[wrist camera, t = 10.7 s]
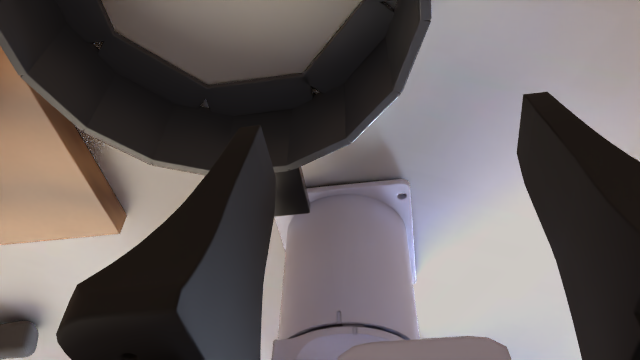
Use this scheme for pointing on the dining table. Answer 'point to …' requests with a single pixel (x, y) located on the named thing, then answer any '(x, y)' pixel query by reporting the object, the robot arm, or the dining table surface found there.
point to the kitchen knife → (17, 339)
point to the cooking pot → (213, 88)
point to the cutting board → (47, 171)
